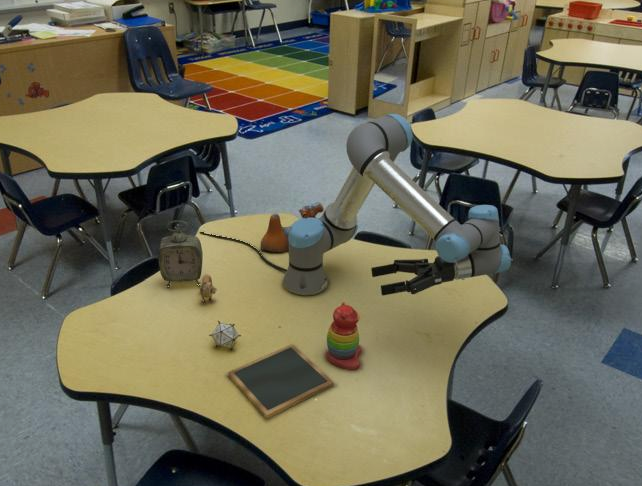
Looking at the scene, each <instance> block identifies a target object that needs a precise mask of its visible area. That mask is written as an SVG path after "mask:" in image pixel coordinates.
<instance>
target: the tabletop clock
mask: <svg viewBox="0 0 642 486" xmlns="http://www.w3.org/2000/svg"><path fill="white" fill-rule="evenodd" d="M176 223H181V224H184V225H185V226H186V227H185V228H182V229H180V228H179V227H176V229H172V228H169V226H170V225H171V224H176ZM166 228H167V230H168V231H170V232H171V233H172V232H173V233H172V234H171V235H170V236H168V235H167V236H165V237H163V238H161V241H160V245H159V250H158V255H157V256H158V257H157V258H158V259H157V260H158V267H159V268H158V269H159V273H160V275H161V277H162V279H163V281H165V282H168V283H166V284H165V288H166V289H170V288H171V283H187V282H194V281H195V283H196V284H198V285H199V284H201V285H202V282H200V281H198V280H199V279H201V277H202V272H203V271H202V270H203V261H204V260H203V257H204V256H203V255H204V253H203V247H202V243H201V240H200V238H199V237H198V236H195V235H191V234H186V233H184V232H185V231H187V230H188V228H189V225H188V223H187V222H186V221H184V220H172V221H169V222H168V223H167V225H166ZM196 284H195V285H196ZM198 285H196V287H197V288H200V287H201V285H199V286H198ZM166 286H167V287H166ZM168 286H169V287H168Z"/></svg>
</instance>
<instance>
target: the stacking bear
mask: <svg viewBox="0 0 642 486" xmlns="http://www.w3.org/2000/svg"><path fill="white" fill-rule="evenodd" d="M332 318H333V321H332V322H331V323H330V325H329V326H328V331H327V334H326V346H327V352H326V358H327V360H328V362H329V363H331V364H332V365H334V366H336V367H339V368H341V369H344V370H345V369H346V370H353V371H355V370H357V369H359V368H360V366H361V362H360V360H359V358H358V356H359V355H360V354H361V353H362V347H361V345H360V333H359V328H358V325H357V324H358V323H359V322H360V319H361V315H360V314H359V313H358V312H357V310H356V309H355V308H353V307H352V306H351V305H349V304H346V302H345V301H343V302H342V303H340V305H339V306H336V308H335V309H334V311H333V313H332Z"/></svg>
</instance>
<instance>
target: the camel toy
mask: <svg viewBox="0 0 642 486" xmlns="http://www.w3.org/2000/svg"><path fill="white" fill-rule="evenodd" d="M324 211H325V209H324V206H323V204H322V203H321V202H319V201H317V202H315V203H312V204H311V205H305V206H302V208H300V209H298V213H300V216H301V219H302V218H305V219H307V218H309V217H310V218H317V217H316V216H317V215H318V214H320V213H324ZM290 227H291V225H289V226H283V225H282V222H281V217H280V214H278V213H276V212H275V213H272V214H271V215H270V217H269V221H268V225H267V230H266V232H265V234H264V235H263V237H262V238H261V240H260V249H261V250H262V251H263V250H265V251H268V252H271V253H275V252H276V253H289V240H288V236H289V229H290Z"/></svg>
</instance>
